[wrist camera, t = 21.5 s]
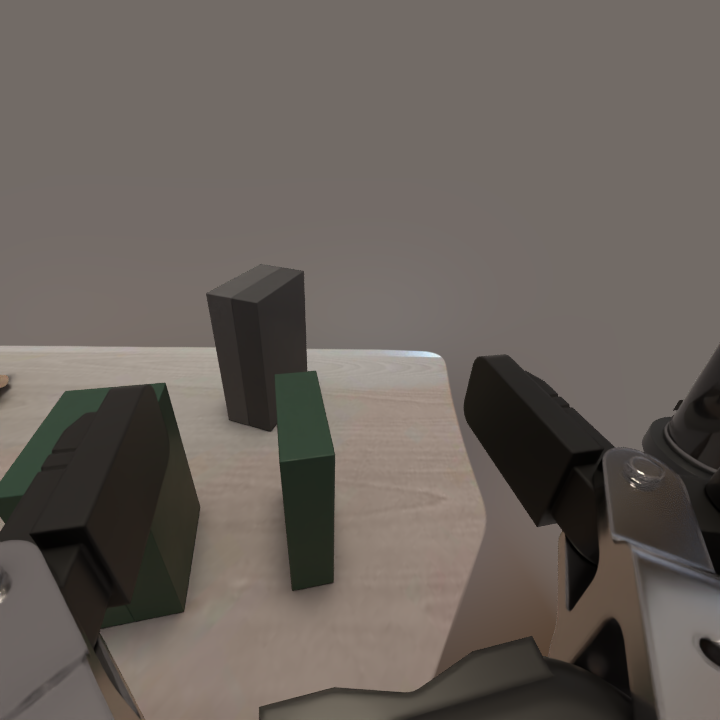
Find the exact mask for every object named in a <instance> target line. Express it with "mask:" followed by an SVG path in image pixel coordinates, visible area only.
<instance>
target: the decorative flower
mask: <svg viewBox="0 0 720 720" xmlns="http://www.w3.org/2000/svg"><path fill="white" fill-rule="evenodd" d="M7 383H8V376H5V375H0V388H1V387H4V386H5V385H6V384H7Z"/></svg>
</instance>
